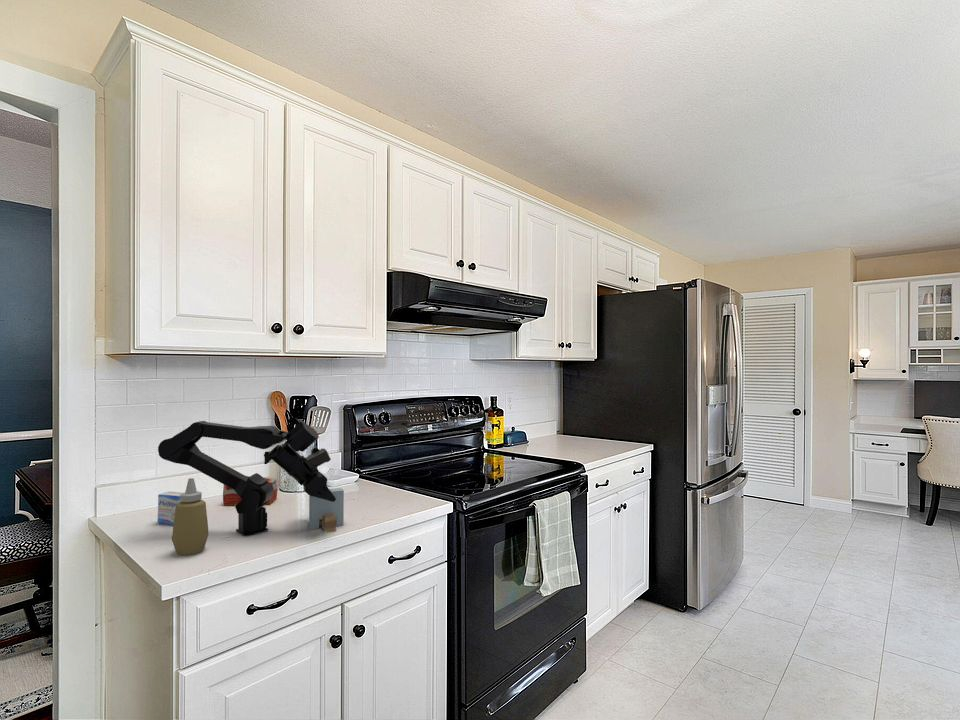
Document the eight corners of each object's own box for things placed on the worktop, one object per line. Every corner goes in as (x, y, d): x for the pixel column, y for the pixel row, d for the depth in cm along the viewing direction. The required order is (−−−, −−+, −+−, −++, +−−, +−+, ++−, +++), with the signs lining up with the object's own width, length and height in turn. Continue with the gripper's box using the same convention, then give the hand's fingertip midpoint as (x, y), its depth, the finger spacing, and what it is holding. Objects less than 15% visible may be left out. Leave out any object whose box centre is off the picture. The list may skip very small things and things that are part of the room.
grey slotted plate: (311, 529, 145) (311, 493, 145) (309, 525, 148) (309, 491, 148) (343, 525, 149) (343, 490, 149) (340, 521, 152) (341, 487, 152)
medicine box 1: (156, 524, 149) (157, 494, 149) (169, 519, 153) (169, 490, 153) (179, 526, 147) (180, 496, 147) (191, 522, 151) (192, 492, 152)
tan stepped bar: (336, 530, 144) (336, 516, 144) (325, 532, 143) (325, 517, 143) (327, 519, 155) (327, 505, 155) (317, 520, 153) (317, 507, 153)
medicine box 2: (277, 499, 178) (277, 476, 178) (270, 505, 170) (270, 481, 170) (231, 500, 176) (231, 476, 176) (222, 507, 168) (222, 482, 168)
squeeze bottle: (173, 560, 122) (174, 483, 122) (169, 550, 129) (170, 477, 129) (211, 552, 127) (212, 479, 127) (206, 543, 133) (206, 473, 133)
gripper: (318, 444, 139) (359, 481, 144) (307, 436, 155) (344, 469, 160) (287, 477, 135) (330, 513, 140) (279, 464, 152) (317, 497, 157)
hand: (331, 496), depth 149 cm, fingers open, 9 cm apart
